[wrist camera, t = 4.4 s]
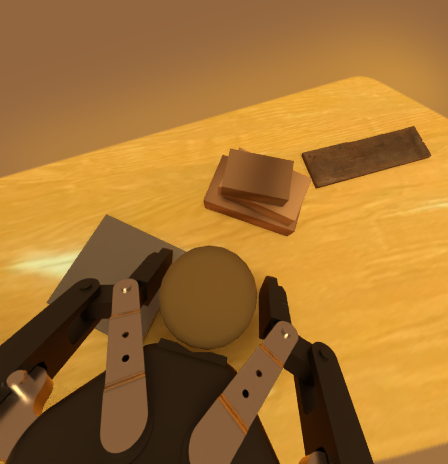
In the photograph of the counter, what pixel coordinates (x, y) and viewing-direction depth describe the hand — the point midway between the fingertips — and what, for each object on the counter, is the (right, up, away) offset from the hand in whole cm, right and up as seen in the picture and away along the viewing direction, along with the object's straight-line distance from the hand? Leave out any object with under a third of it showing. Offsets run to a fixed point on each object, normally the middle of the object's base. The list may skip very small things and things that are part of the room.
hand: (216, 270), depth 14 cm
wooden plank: (+19, +13, +10) cm, 25 cm away
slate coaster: (-10, -2, +5) cm, 11 cm away
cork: (-1, -3, +5) cm, 6 cm away
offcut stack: (+4, +7, +8) cm, 11 cm away
